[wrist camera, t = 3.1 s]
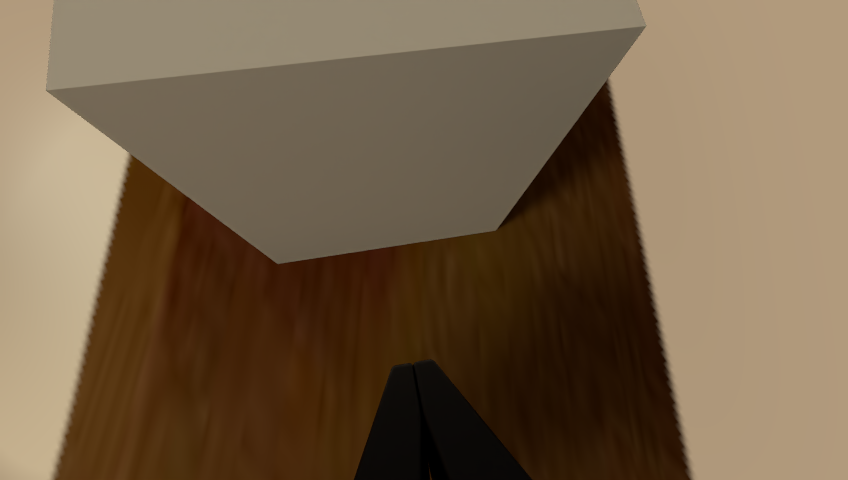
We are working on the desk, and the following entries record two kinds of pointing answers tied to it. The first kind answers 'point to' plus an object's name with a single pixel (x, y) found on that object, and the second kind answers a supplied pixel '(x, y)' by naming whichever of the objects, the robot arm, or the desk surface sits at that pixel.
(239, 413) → the desk surface
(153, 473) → the desk surface
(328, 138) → the tile
